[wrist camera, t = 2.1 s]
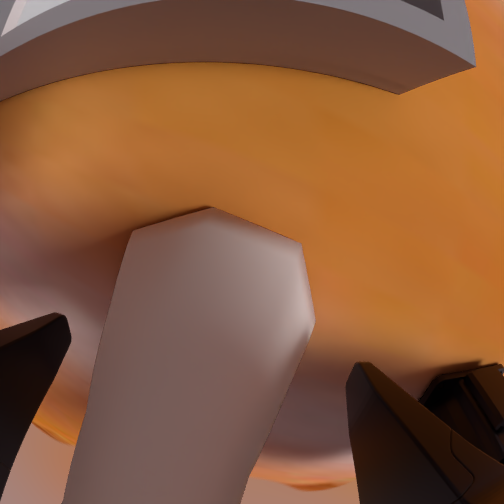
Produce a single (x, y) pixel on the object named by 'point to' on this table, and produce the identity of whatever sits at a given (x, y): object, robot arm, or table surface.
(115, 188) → the table surface
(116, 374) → the flask
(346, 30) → the caddy
